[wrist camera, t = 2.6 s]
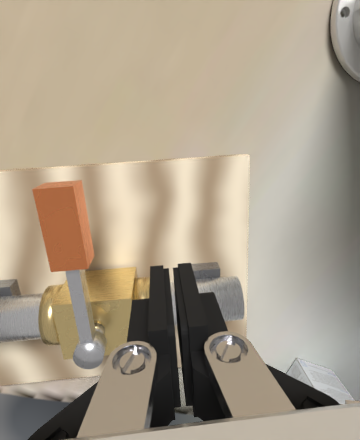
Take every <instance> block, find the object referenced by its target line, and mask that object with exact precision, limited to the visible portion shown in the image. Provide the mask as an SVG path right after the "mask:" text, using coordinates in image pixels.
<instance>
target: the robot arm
mask: <svg viewBox="0 0 360 440" xmlns="http://www.w3.org/2000/svg"><path fill="white" fill-rule="evenodd" d="M330 21H331V38H332V43H333V48H334V51H335V53H336V56H337V58H338V61H339V62H340V64H341V65H342V67H343V68H344V70H345V71H346V72H347V73H348V74H349V75H350V76H351V77H352V78H354V79H355V80H357V81H359V82H360V0H334V2H333V5H332V13H331V20H330ZM173 276H174V290H175V304H176V318H177V330H178V339H179V348H180V356H181V365H182V374H183V383H184V391H185V400H186V406H193V413H194V417H199V418H201V419H202V420H203V422H194V423H187V424H179V425H171V426H168V425H169V423H170V422H171V421H172V420H175V411H174V408H175V407H181V402H180V389H179V375H178V362H177V349H176V336H175V325H174V315H173V305H172V295H171V285H170V275H169V268H164V267H163V265H159V266H150V287H149V298H146V299H136V300H132V305H131V313H130V321H129V328H128V336H127V343H124V344H122V345H120V346H118V347H117V348H115V349H114V350H113V351H112V352H111V354H110V355H109V357H108V359H107V361H106V364H105V366H104V369H103V371H102V374H101V376H100V379H99V381H98V382H97V383H96V384H94V385H93V386H92V387H91V388H89V389H88V390H87V391H86V392H84V393H83V394H82V395H81V396H79V397H78V398H77V399H76V400H74V401H73V402H72V403H71V404H69V405H68V406H67V407H66V408H64V409H63V410H62V411H61V412H59V413H58V414H57V415H55V416H54V417H53V418H52V419H51V420H49V421H48V422H47V423H46V424H44V425H43V426H42V427H40V429H38V430H37V431H36V432H35V433H34V434H33V435H32V436H31V437H30V438H29V439H28V440H360V401H353V400H345V404H339V403H338V402H337V401H336V400H335V399H333V398H332V397H330V396H329V395H327V394H325V393H323V392H321V391H319V390H317V389H315V388H313V387H311V386H309V385H307V384H305V383H303V382H301V381H299V380H297V379H295V378H293V377H291V376H289V375H287V374H285V373H283V372H281V371H279V370H277V369H275V368H273V367H271V366H269V365H267V364H265V363H264V361H263V360H262V358H261V357H260V355H259V354H258V353H257V351H256V350H255V348H254V347H253V345H252V344H251V342H250V341H249V340H248V339H247V338H246V337H244V336H242V335H241V334H238V333H235V332H228V329H227V326H226V324H225V321H224V318H223V315H222V313H221V310H220V307H219V304H218V302H217V299H216V296H215V294H214V292H207V293H199V291H198V287H197V283H196V280H195V276H194V272H193V269H192V265H191V263H181V264H178V267H175V268H173Z"/></svg>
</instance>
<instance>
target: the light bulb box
mask: <svg viewBox="0 0 360 440" xmlns="http://www.w3.org/2000/svg"><path fill="white" fill-rule="evenodd" d="M286 374H287V375H289V376H291V377H293V378H295V379H297V380H299V381H301V382H303V383H305V384H307V385H309V386H311V387H313V388H315V389H317V390H319V391H321V392H323V393H325V394H327V395H329V396H330V397H332V398H333V399H335V400H336V401H337V402H338V403H339V404H345V400H353V401H355V400H354V399H353V398H352V396H351V395H350V394H349V392H348V391H347V389H346V388H345V387H344V385H343V384H342V382H341V381H340V380H339V378H338V377H337V376H336V374H335V373H334V372H333V370H331V369H328V368H325V367H322V366H319V365H316V364H313V363H310V362H307V361H304V360H301V359H298V358H296V360H295V361H294V363H293V364H292V366H291V367H290V369H289V370H288V372H287V373H286Z"/></svg>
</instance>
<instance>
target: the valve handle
mask: <svg viewBox="0 0 360 440" xmlns="http://www.w3.org/2000/svg"><path fill="white" fill-rule="evenodd" d="M32 191H33V195H34V200H35V204H36V209H37V213H38V217H39V222H40V226H41V231H42V235H43V239H44V244H45V248H46V253H47V257H48V262H49V266H50V270H51V272H59V271H65V273H66V277H67V282H68V287H69V292H70V297H71V301H72V306H73V311H74V316H75V321H76V326H77V330H78V335H79V340H78V343H77V345H76V348H75V351H74V353H73V361H74V363H75V364H76V365H77V366H78V367H80V368H83V369H94V368H96V367H98V366H99V365H100V364H101V363H102V361H103V358H104V353H105V349H106V345H107V339H106V337H105V335H104V334H102V333H101V332H99V331H96V330H95V324H94V319H93V313H92V308H91V303H90V297H89V292H88V286H87V281H86V275H85V270H84V269H88V268H89V266H90V264H91V262H92V260H93V258H94V250H93V244H92V238H91V232H90V226H89V220H88V214H87V208H86V202H85V196H84V190H83V184H82V180H76V181H62V182H47V183H43V184H41V185H39V186H37V187H35V188H34V189H32Z"/></svg>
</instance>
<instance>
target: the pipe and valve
mask: <svg viewBox="0 0 360 440" xmlns="http://www.w3.org/2000/svg"><path fill="white" fill-rule="evenodd" d="M191 265H192V269H193V272H194V276H195V280H196V283H197V287H198V291H199V293H207V292H214V294H215V296H216V299H217V302H218V304H219V307H220V310H221V313H222V315H223V318H224V321H234V320H242V319H243V318H244V297H243V291H242V287H241V284H240V281H239V279H238V277H237V276H230V277H220V267H219V265H218V262H209V263H197V264H191ZM85 275H86V281H87V286H88V292H89V297H90V303H91V308H92V313H93V319H94V324H95V330H96V331H99V332H101V333H102V334H104V335H105V337H106V339H107V345H106V349H105V353H104V356H106V355H110V354H111V352H112V351H113V350H114V349H115V348H117V347H118V346H120V345H122V344H124V343H127V336H128V328H129V321H130V313H131V305H132V300H136V299H146V298H149V287H150V277H140V278H137V270H136V267H127V268H115V269H103V270H91V271H85ZM170 285H171V295H172V305H173V315H174V325H175V326H177V318H176V304H175V290H174V281H173V282H170ZM36 339H42V341H43V343H44V344H45V345H47V346H53V345H60V346H61V350H62V355H63V359H64V360H66V359H73V353H74V351H75V348H76V345H77V343H78V340H79V335H78V330H77V326H76V321H75V316H74V311H73V306H72V301H71V297H70V292H69V287H68V282H67V279H66V281H65V283H64V284H59V285H50V286H48V287H47V288H46V289H45V291H44V293H36V294H25V295H21V292H20V289H19V285H18V281H17V279H9V280H0V343H4V342H15V341H25V340H36Z"/></svg>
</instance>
